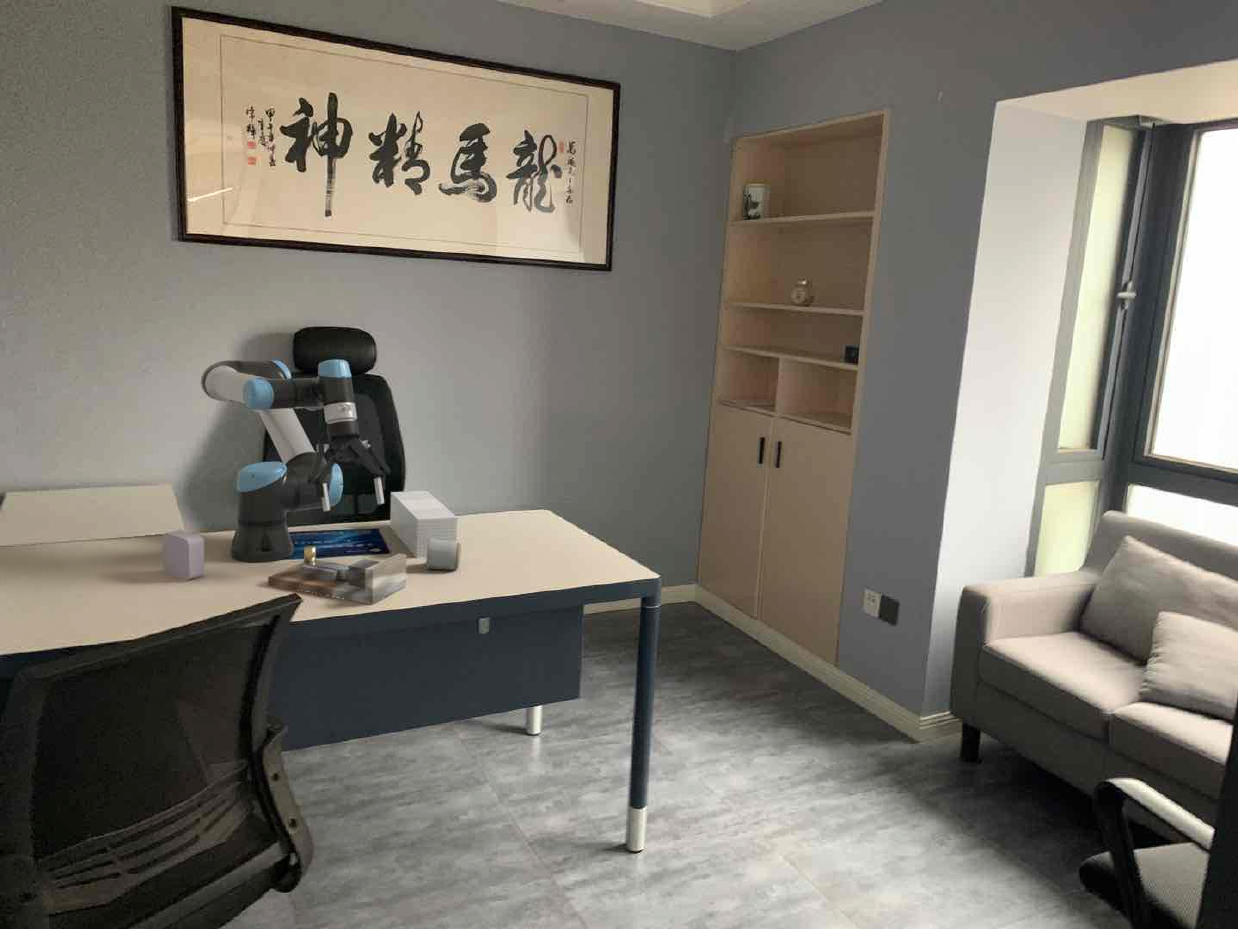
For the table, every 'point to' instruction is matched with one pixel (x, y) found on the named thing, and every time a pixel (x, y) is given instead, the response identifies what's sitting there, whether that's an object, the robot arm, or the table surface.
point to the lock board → (362, 584)
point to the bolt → (311, 560)
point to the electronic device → (183, 555)
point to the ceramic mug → (443, 554)
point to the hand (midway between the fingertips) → (354, 507)
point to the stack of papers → (421, 520)
